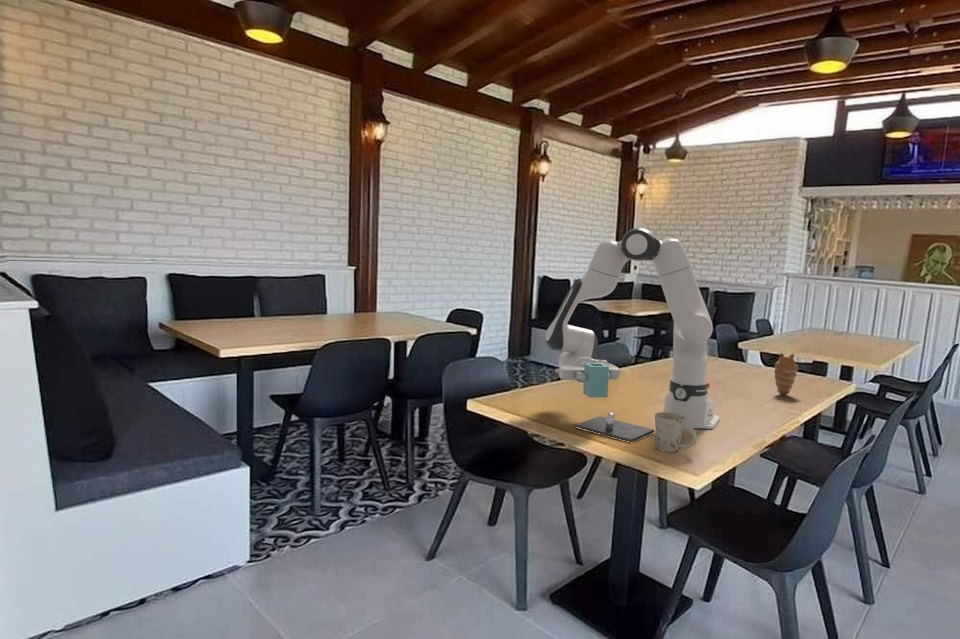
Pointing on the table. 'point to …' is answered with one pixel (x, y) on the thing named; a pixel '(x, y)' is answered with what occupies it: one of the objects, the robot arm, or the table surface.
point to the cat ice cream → (785, 373)
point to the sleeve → (596, 380)
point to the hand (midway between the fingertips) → (597, 377)
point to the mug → (671, 431)
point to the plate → (615, 428)
